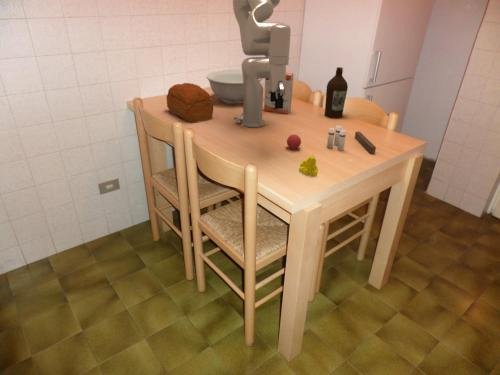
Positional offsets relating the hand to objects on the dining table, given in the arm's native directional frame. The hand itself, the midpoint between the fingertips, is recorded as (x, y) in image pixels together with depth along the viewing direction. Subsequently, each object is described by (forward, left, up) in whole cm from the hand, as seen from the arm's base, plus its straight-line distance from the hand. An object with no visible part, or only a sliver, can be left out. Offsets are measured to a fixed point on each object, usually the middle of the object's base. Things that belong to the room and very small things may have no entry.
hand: (276, 104), depth 143 cm
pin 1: (+28, +2, -19) cm, 34 cm away
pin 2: (+28, -3, -19) cm, 34 cm away
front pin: (+24, -1, -19) cm, 31 cm away
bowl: (-12, +73, -19) cm, 77 cm away
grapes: (+9, -22, -19) cm, 31 cm away
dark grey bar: (+40, 0, -19) cm, 45 cm away
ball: (+8, -1, -16) cm, 18 cm away
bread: (-37, +48, -19) cm, 64 cm away
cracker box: (+10, +50, -19) cm, 55 cm away
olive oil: (+39, +41, -19) cm, 60 cm away
